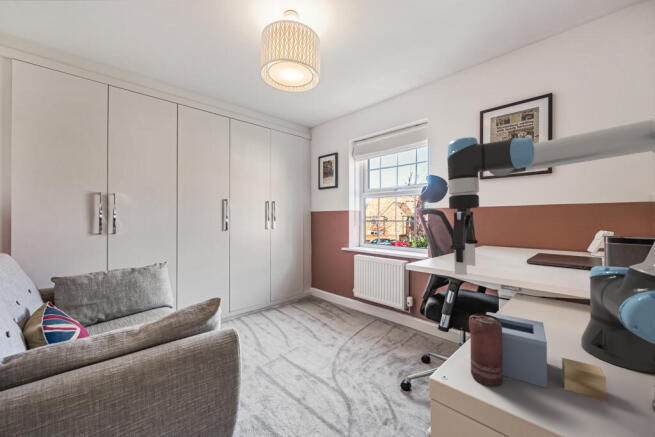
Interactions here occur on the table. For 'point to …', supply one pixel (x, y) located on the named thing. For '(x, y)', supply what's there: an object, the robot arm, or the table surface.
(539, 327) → the coin box
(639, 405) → the table surface
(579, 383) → the wooden block
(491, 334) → the can
